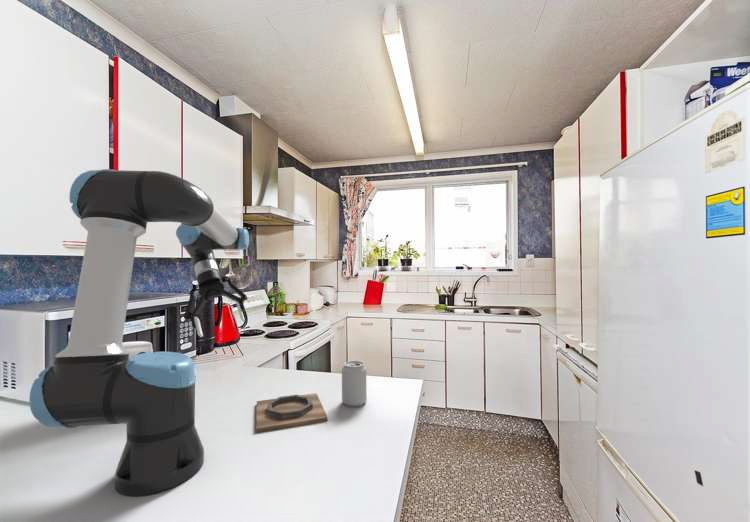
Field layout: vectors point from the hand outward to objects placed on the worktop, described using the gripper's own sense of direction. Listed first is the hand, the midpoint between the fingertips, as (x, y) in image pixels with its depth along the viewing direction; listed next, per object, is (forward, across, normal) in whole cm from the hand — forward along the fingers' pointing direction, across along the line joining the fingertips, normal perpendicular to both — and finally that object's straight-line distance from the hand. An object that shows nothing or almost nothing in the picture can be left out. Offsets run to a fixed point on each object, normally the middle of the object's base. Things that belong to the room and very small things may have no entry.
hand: (222, 327), depth 110 cm
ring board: (+35, -12, +6) cm, 37 cm away
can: (+40, -30, +2) cm, 50 cm away
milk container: (+11, +33, -4) cm, 35 cm away
